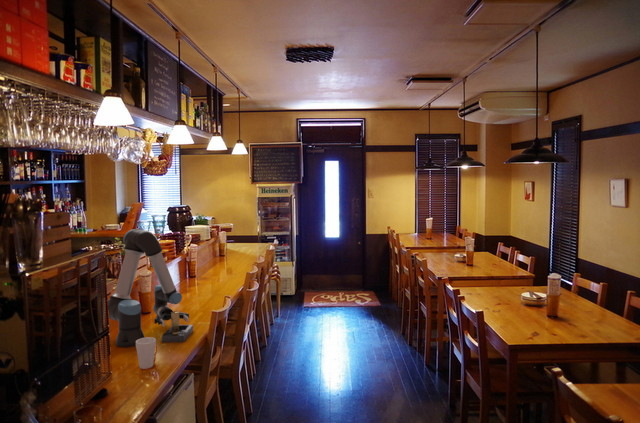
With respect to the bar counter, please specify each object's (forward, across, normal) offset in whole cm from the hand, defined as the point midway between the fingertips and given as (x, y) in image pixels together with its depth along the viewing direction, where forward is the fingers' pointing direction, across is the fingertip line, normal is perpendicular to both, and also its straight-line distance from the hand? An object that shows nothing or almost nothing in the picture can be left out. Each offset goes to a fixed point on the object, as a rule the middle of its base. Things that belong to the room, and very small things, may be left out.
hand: (176, 322), depth 256 cm
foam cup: (+29, +24, -11) cm, 39 cm away
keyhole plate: (-5, -2, -10) cm, 12 cm away
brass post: (-1, 0, -9) cm, 9 cm away
